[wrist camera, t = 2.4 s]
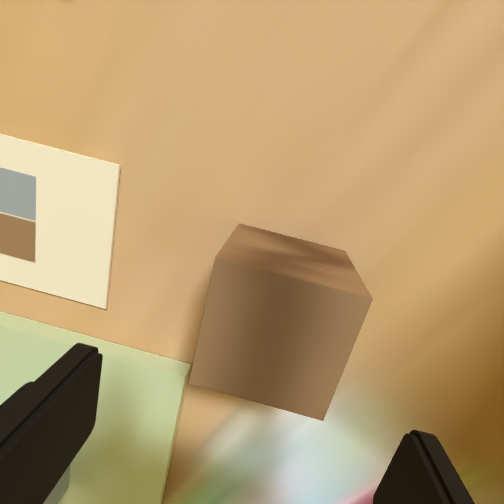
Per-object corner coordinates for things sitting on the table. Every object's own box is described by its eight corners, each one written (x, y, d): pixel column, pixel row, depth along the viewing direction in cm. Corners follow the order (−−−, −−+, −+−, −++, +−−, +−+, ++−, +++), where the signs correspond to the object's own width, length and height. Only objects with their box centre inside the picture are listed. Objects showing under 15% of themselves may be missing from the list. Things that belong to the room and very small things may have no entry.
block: (344, 250, 17) (372, 299, 11) (312, 340, 19) (323, 420, 13) (239, 223, 17) (215, 257, 12) (218, 315, 19) (188, 383, 14)
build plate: (191, 364, 20) (185, 376, 19) (158, 520, 26) (151, 537, 24) (-38, 300, 21) (-57, 309, 20) (-26, 466, 26) (-40, 481, 25)
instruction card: (121, 165, 17) (118, 165, 17) (107, 307, 20) (104, 309, 20) (-85, 111, 17) (-90, 111, 17) (-69, 259, 20) (-73, 260, 20)
